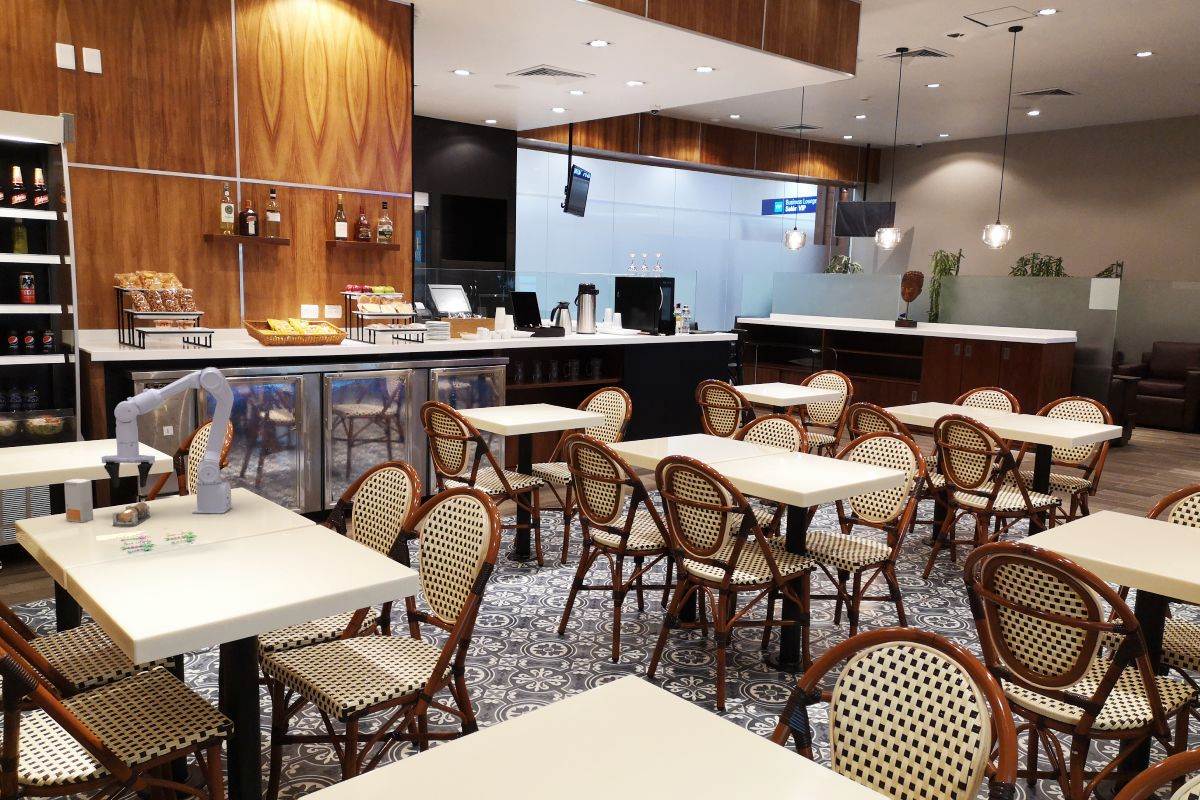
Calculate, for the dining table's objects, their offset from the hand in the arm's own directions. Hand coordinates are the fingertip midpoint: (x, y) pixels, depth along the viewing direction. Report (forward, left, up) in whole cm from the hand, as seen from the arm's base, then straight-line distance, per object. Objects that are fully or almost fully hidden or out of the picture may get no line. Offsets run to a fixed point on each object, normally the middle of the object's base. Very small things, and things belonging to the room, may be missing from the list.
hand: (129, 486), depth 268 cm
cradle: (-3, +6, -9) cm, 11 cm away
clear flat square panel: (-20, +27, -10) cm, 35 cm away
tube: (-3, +6, -8) cm, 10 cm away
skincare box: (+13, +5, -9) cm, 16 cm away
